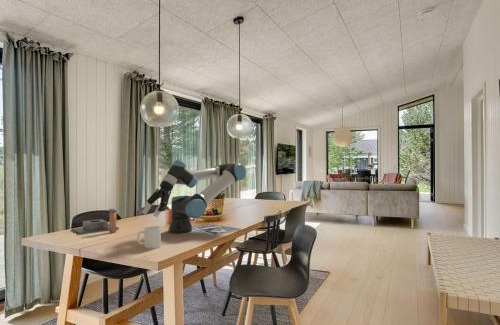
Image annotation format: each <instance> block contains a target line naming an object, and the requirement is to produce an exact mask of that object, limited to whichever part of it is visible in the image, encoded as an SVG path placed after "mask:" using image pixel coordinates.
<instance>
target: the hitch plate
mask: <svg viewBox="0 0 500 325" xmlns="http://www.w3.org/2000/svg"><path fill="white" fill-rule="evenodd" d="M70 230H71V231H72V232H73V233H76V234H78V235H80V236H81V235H87V234H94V233H101V232H107V231H109V221H107V220H105V219H90V220H83V221H82V227H80V226H79V227H73V228H71V229H70ZM117 230H119V227H118V226H116V231H117Z"/></svg>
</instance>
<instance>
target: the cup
mask: <svg viewBox="0 0 500 325" xmlns="http://www.w3.org/2000/svg"><path fill="white" fill-rule="evenodd" d="M161 231H162V227H161V226H157V225H156V226H155V225H153V226H145V227H144V230H140V231H139V232H138V233H137V235H136V241H137V244H139V245H141V246H142V245H144V248H145V249H148V250H151V249H152V250H153V249H158V248H160V247H161V245H162V242H161V241H162V239H161V238H162V237H161V236H162V232H161ZM140 234H144V241H143V242H142V241H141V240H140Z"/></svg>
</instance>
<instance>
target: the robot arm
mask: <svg viewBox="0 0 500 325" xmlns="http://www.w3.org/2000/svg"><path fill="white" fill-rule="evenodd" d="M186 167H187V164H186V162H184V161H182V160H180V159H175V160H174V161H173V163H172V164H171V166H170V168H169V169H168V171H167V173H166V174H165V175H164V178H163V179H162V180H161V182H160V184H159V187H160V188H156V190H155V191H154V192H153V193H152V195H150V196H149V198H147V200H146V202H147V203H146V205H145V206H144V208H143V210H142V211H141V213H142V214H144V215H147V214H148V212H149V210H150V209H151V207H152V206H153V204H154V203H155V202H156V201H157V200H159V199H160V203H159V204H158V205H157V207H156V208H155V211H154V212H153V214H152V216H154V217H156V218H158V217H159V216H160V214H161V212H162V210H163V208H164V207H167V206H168V203H169V199H170V197H171V195H172V194H171V193H172V191H173V189H174V186H175V185H184V186H186V187H188V188H189V189H193V188H195V186H196V185H197V184H198V182H199V181H204V180H205V181H206V180H210V179H214V181H213V182H211V183H210V184H209V185H208V186H207V187H206V188H204V189H202V191H200V192H199V193H194V194H193V195H192V196H191V197H190V195H180V196H179V195H177V196H172V197H171V201H170V203H171V220H170V222H169V226H168V233H174V234H185V233H191V232H192V231H193V226H192V222H191V219H198V218H201V217H202V216H203V215H205V213H206V209H207V208H208V204H210V202H211V201H213V199H215V198H216V197H218V196H219V195H220V194H221V193H222V192H223V191H224V190H225V189H227V188H228V187H229V186H230V185H235V184H236V183H237V182H239V181H243V180H244V179H245V178H246V175H247V170H246V167H245V165H244V164H243V163H239V162H237V163H223V164H219V165H213V166H212V167H208V168H201V169H194V170H187V169H186Z"/></svg>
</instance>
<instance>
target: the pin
mask: <svg viewBox="0 0 500 325" xmlns="http://www.w3.org/2000/svg"><path fill="white" fill-rule="evenodd" d="M108 212H109V221H108V224H109V232H108V233H109V234H116V233H117V230H116V227H117V212H118V209H117V208H108Z"/></svg>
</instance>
